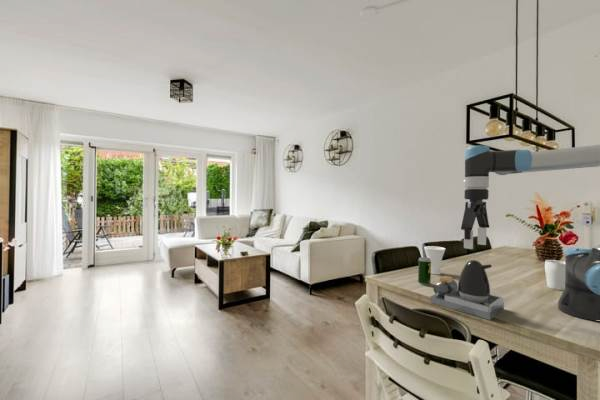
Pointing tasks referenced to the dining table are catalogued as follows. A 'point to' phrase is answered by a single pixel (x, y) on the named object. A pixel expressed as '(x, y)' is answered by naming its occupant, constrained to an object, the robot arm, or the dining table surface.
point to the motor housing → (452, 299)
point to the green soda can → (424, 271)
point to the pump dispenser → (474, 282)
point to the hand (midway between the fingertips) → (475, 246)
